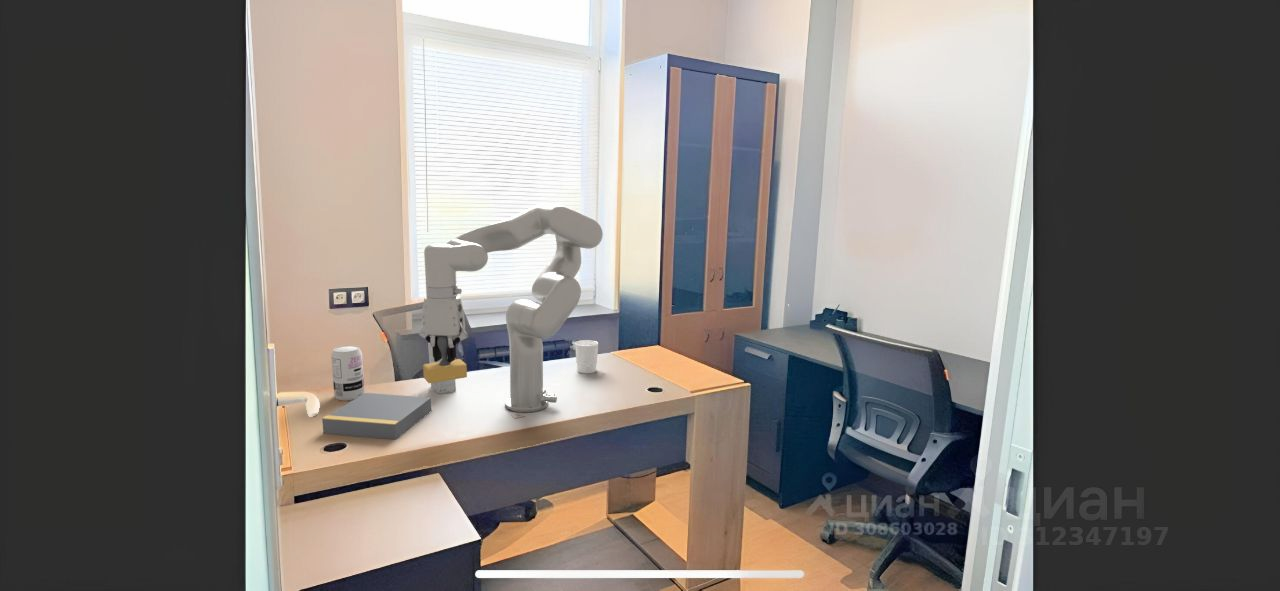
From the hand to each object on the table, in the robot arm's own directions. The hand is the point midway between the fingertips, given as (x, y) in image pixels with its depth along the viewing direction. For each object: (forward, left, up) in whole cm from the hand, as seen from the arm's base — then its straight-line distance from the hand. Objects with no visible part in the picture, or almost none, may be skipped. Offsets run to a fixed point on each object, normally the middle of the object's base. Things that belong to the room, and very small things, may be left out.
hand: (444, 360), depth 167 cm
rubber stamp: (0, 0, -5) cm, 5 cm away
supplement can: (+38, -16, -19) cm, 45 cm away
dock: (+19, 0, -19) cm, 27 cm away
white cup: (-26, -56, -19) cm, 64 cm away
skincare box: (+14, -28, -19) cm, 36 cm away
